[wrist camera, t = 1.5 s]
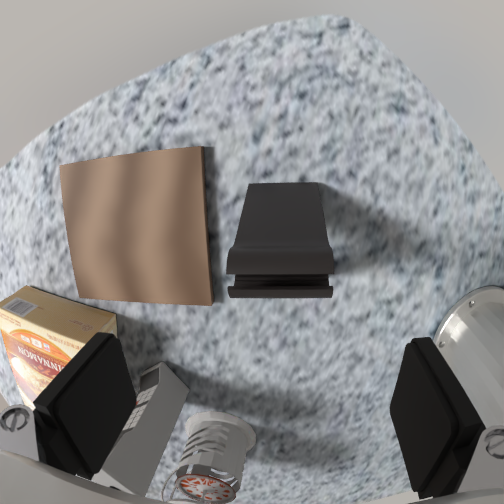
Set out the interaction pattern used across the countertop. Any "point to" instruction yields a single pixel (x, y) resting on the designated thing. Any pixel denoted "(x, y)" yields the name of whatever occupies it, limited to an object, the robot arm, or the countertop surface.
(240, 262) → the phone stand
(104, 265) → the walnut board
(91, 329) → the coffeecake box
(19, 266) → the countertop surface
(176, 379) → the vintage mobile phone
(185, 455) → the french press
